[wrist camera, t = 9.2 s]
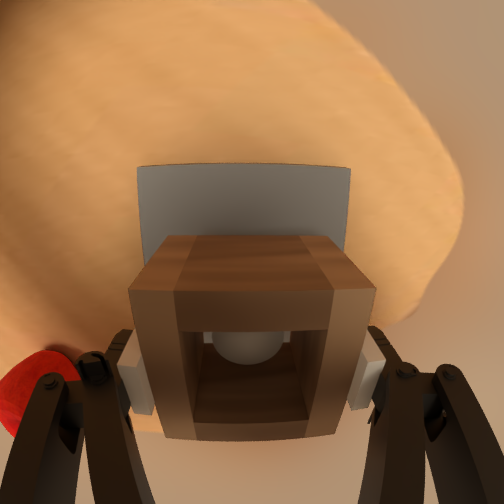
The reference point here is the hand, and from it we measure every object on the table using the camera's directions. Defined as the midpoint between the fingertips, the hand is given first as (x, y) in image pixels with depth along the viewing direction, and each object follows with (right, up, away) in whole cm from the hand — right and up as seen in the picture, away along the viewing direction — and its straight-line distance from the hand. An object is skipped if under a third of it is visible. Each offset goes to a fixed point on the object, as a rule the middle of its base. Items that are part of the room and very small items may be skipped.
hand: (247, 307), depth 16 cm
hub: (0, 0, 0) cm, 0 cm away
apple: (-20, -9, +9) cm, 23 cm away
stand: (0, +2, +6) cm, 6 cm away
